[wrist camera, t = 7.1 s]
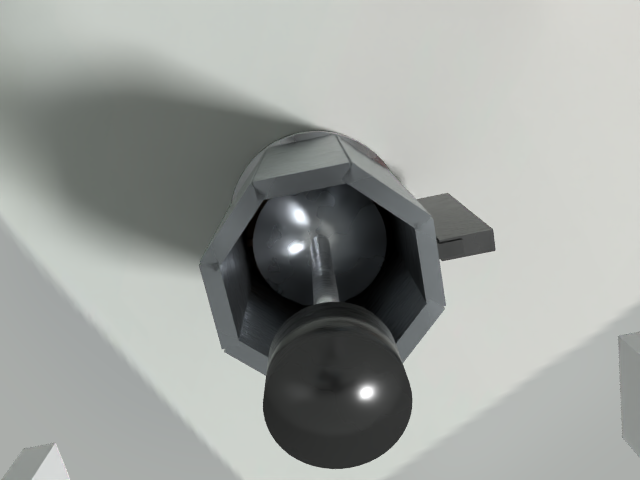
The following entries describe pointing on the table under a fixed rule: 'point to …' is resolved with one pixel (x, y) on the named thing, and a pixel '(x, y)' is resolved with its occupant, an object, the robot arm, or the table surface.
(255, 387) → the table surface
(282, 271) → the plunger
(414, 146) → the table surface
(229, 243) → the press carafe
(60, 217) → the table surface
